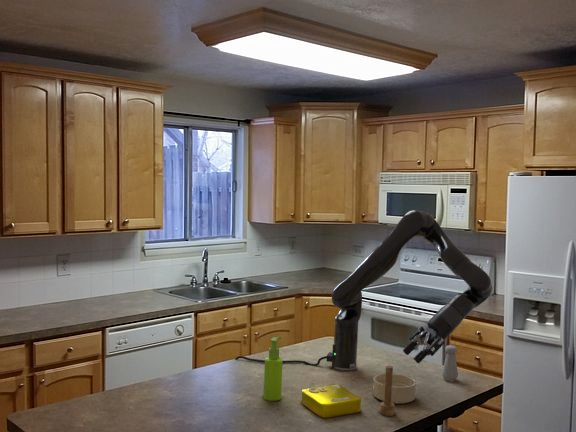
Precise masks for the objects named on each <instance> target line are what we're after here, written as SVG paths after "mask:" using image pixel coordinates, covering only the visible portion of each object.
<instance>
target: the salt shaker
mask: <svg viewBox="0 0 576 432" xmlns="http://www.w3.org/2000/svg"><path fill="white" fill-rule="evenodd" d="M444 351H445V352H446V354H445V358H444V363H443V366H442V367H443V368H442V371H441V375H442V378H443V380H444V381H446V382H450V383H454V382H456V381H457V379H458V377H459V372H458V365H457V357H456V354H457V353H458V347H457V346H455V345H453V344H448V345H446V346H445V349H444Z"/></svg>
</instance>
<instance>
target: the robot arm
mask: <svg viewBox="0 0 576 432" xmlns="http://www.w3.org/2000/svg"><path fill="white" fill-rule="evenodd" d="M416 237H419V238H423V239H424V240H425V241H427V242H429V244H431V245H432V246H433V248H434V249H435V251H436V252H437V254H438V255H439V258H440V259H441V261H442V263H444V265H445V266H446V267H447V268H448V269H449V270H450V271H451V272H452V273H453V275H455V276H456V277H457V278H459V279H462V280H463V281H464V282H465V283H466V285H467V286H468V287H467V288H466V289H465V290H464V291H463V292H458V293H456V294H455V295H453V297H452V298H450V300H448V302H446V304H444V305H443V306H442V307H440V309H438V310H437V312H436V313H435V314H434V315H433V316H432V317H431V318H430V319H429V320H428V321H427V328H424V327H423V326H420V327H419V328H418V329H416V331H415V332H414V333H412V334H411V336H410V337H409V343H408V344H407V345H406V346H405V347H404V348H403V349H402V352H403V353H404V354H405V355H406V356H409V355H410V354H411V353H412V352H413V351H414V350H415V349H416V348H417V347H419V346H423V347H422V349H421V350H420V351H419V352H418V353H417V354H415V356H414V357H413V360H414V361H415V362H416V363H417V364H420V363H421V362H422V361H423V360H424V359H425V358H426V357H427V356H431V357H433V356H434V355H435V354H436V353H437V352H438V351H439V350H440V349H441V348H442V346H443V345H444V344H445V340H446V339H447V338H448V337H449V336H450V335H451V334H452V333H453V332H454V331H455V330H456V329H457V328H458V327H459V326H460V325H461V323H462V322H463V320H465V318H467V316H468V315H469V314H470V313H471V312H472V311H473V310H474V309H475V308H477V307H479V306H480V305H482V304H483V303H485V301H487V300H488V299H489V298H490V296H491V295H492V293H493V285H492V284H493V283H492V279H491V277H490V275H489V274H488V272H486V271H485V270H484V269H483V268H481V267H480V266H478V265H477V264H476V263H474V262H473V261H472V260H471V259H470V258H469V257H468V256H467V254H465V253H464V252H463V251H462V250H461V249H460V248H459V247H458V246H457V245H456V244H455V243H454V242H453V241H452V239H451V238H449V236H448V235H447V234H446V233H445V231H444V230H443V228H442V227H441V226H440V224H439V222H438V221H437V220H436V218H435V217H434V216H433V215H432V214H431V213H429V212H428V211H423V210H419V209H412V210H409V211H408V212H406V213H405V214H404V215H403V216H402V217H401V219H400V220H399V221H398V223H397V224H396V225H395V227H394V228H393V229H392V230H391V232H390V233H389V234H388V235H387V236H386V237H385V238H384V239H383V240H382V241H381V242H380V244H379V245H377V246H376V247H375V248H374V249H373V250H372V252H370V253H369V255H367V256H366V258H365V259H364V260H363V261H362V262H361V263H360V264H359V265H358V266H357V267H356V269H355V270H354V271H352V273H351V274H350V275H349V276H348V277H347V278H345V279H344V280H343V281H342V282H340V283H339V284H338V285H337V286H336V287H335V288H334V289H333V291H332V293H331V302H332V304H333V306H334V307H336V308H338V309H340V310H339V312H338V313H337V315H336V316H335V317H334V331H333V332H334V333H333V335H334V336H333V344H332V350H331V351H332V352H330V351H329V352H327V355H325V356H322V357H320V358H319V359H318V360H317V362H316V363H311V362H308V361H305V360H283V361H282V364H305V365H308V366H313V367H318V366H319V365H320V363H321V361H322V360H325V361H326V362H327V363H331V369H333V370H337V371H340V372H352V371H356V370H357V367H358V366H357V362H358V337H359V321H360V319H361V315H362V305H363V293H362V291H363V290H365V288H367V287H369V286H370V285H372V284H373V283H376V281H378V280H380V279H381V278H383V277H384V276H385V275H386V274H387V273H388V272H389V271H390V270H391V269H392V268H393V267H394V266H395V265H396V263H397V262H398V259H399V257H400V253H401V251H402V249H403V248H404V247H405V245H407V244H408V243H409V242H410V240H412V239H414V238H416ZM240 359H243V360H246V361H249V362H256V363H264V364H265V359H259V358H258V359H257V358H250V357H247V356H244V355H239V356H236V357H235V358H234V360H235V361H238V360H240Z"/></svg>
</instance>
